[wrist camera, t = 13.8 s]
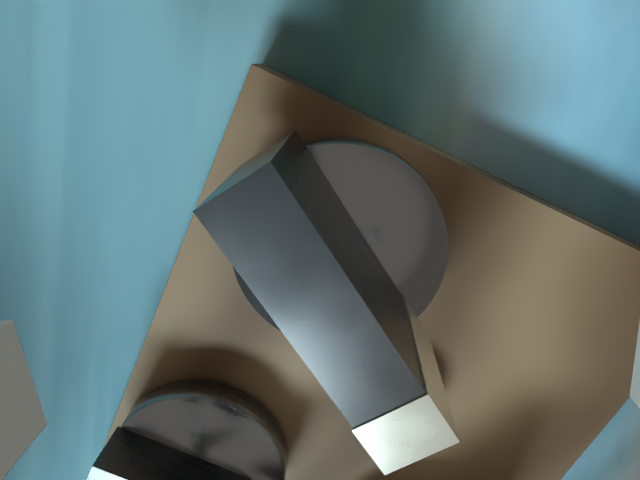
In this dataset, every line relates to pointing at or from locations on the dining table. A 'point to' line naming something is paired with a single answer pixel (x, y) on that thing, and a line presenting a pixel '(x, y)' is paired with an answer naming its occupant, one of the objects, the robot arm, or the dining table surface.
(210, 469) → the knob
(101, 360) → the dining table surface
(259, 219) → the knob
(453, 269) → the base
